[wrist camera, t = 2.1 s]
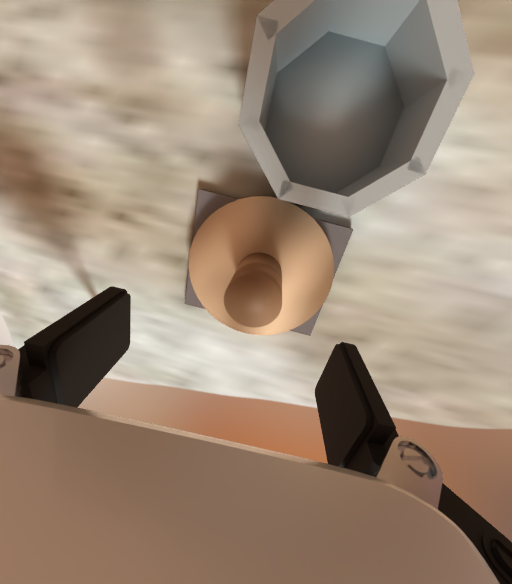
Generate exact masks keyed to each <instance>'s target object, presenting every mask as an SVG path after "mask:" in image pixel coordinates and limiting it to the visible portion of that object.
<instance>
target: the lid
mask: <svg viewBox="0 0 512 584" xmlns="http://www.w3.org/2000/svg"><path fill="white" fill-rule="evenodd" d="M189 274H190V279H191V283H192V286H193V289H194V291H195V293H196V295H197V297H198V299H199V300H200V302H201V303H202V305H203V306H204V307H205V309H206V310H207V311H208V312H209V313H210V314H211V315H212V316H213V317H214V318H216V319H217V320H218V321H220V322H221V323H223V324H225V325H226V326H228V327H230V328H232V329H235V330H237V331H241V332H244V333H248V334H255V335H272V334H278V333H282V332H286V331H289V330H291V329H294V328H296V327H298V326H300V325H302V324H303V323H304V322H306V321H307V320H309V319H310V318H311V317H312V316H313V315H314V314H315V313H316V312H317V311H318V310H319V309H320V308H321V306H322V305H323V303H324V302H325V300H326V298H327V296H328V294H329V292H330V289H331V285H332V281H333V276H334V260H333V254H332V250H331V246H330V244H329V241H328V239H327V237H326V235H325V233H324V232H323V230H322V228H321V227H320V226H319V225H318V224H317V222H316V221H315V220H314V219H313V218H312V217H311V216H310V215H309V214H308V213H307V212H305V211H304V210H303V209H301V208H300V207H298V206H296V205H294V204H292V203H290V202H288V201H285V200H281V199H278V198H274V197H269V196H254V197H247V198H242V199H239V200H236V201H233V202H231V203H228V204H226V205H225V206H223V207H221V208H219V209H218V210H216V211H215V212H214V213H213V214H211V215H210V216H209V217H208V218H207V219H206V220H205V222H204V223H203V224H202V225H201V227H200V228H199V230H198V231H197V233H196V235H195V237H194V240H193V242H192V245H191V249H190V254H189Z"/></svg>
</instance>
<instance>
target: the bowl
mask: <svg viewBox="0 0 512 584" xmlns="http://www.w3.org/2000/svg"><path fill="white" fill-rule="evenodd" d="M473 75H474V71H473V66H472V62H471V58H470V53H469V49H468V44H467V40H466V36H465V31H464V27H463V22H462V18H461V14H460V9H459V5H458V1H457V0H273V1H272V2H271V3H270V4H269V5H268V6H267V7H265V8H264V9H263V10H262V11H261V12H260V13H259V14H258V15H257V18H256V24H255V30H254V36H253V41H252V47H251V53H250V59H249V65H248V71H247V77H246V83H245V89H244V95H243V100H242V106H241V112H240V118H239V124H238V126H239V127H240V129H241V131H242V133H243V135H244V137H245V138H246V140H247V142H248V144H249V146H250V148H251V150H252V151H253V153H254V155H255V157H256V159H257V161H258V163H259V164H260V166H261V168H262V170H263V172H264V174H265V175H266V177H267V179H268V181H269V183H270V185H271V187H272V188H273V190H274V192H275V194H276V196H277V198H278V199H281V200H285V201H288V202H292V203H296V204H300V205H304V206H308V207H311V208H315V209H319V210H323V211H327V212H330V213H334V214H338V215H342V216H346V217H350V216H352V215H353V214H355V213H357V212H359V211H361V210H362V209H364V208H366V207H368V206H370V205H371V204H373V203H375V202H377V201H379V200H380V199H382V198H384V197H386V196H388V195H389V194H391V193H393V192H395V191H396V190H398V189H400V188H402V187H404V186H405V185H407V184H409V183H411V182H413V181H414V180H416V179H418V178H420V177H422V176H423V175H425V174H426V172H427V170H428V168H429V166H430V164H431V162H432V159H433V157H434V155H435V153H436V151H437V149H438V147H439V145H440V143H441V141H442V139H443V137H444V135H445V133H446V131H447V129H448V127H449V125H450V122H451V120H452V118H453V116H454V114H455V112H456V110H457V108H458V106H459V104H460V102H461V100H462V98H463V96H464V94H465V92H466V90H467V88H468V85H469V83H470V81H471V79H472V77H473Z"/></svg>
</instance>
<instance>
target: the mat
mask: <svg viewBox="0 0 512 584" xmlns="http://www.w3.org/2000/svg"><path fill="white" fill-rule="evenodd" d="M236 200H239V199H237V198H233V197H230V196H226V195H222V194H218V193H214V192H210V191H206V190H203V189H199V190H198V198H197V206H196V215H195V223H194V231H193V239H192V242H193V240H194V237H195V235H196V233H197V231H198V230H199V228H200V227H201V225H202V224H203V223H204V222H205V220H206V219H207V218H208V217H209V216H210V215H211V214H213V213H214V212H215V211H216V210H218V209H219V208H221V207H223V206H225V205H226V204H228V203H231V202H233V201H236ZM313 219H314V218H313ZM314 220H315V221H316V222H317V224H318V225H319V226H320V227H321V228H322V230H323V232H324V233H325V235H326V237H327V239H328V241H329V244H330V246H331V250H332V254H333V260H334V276H335V273H336V271H337V268H338V266H339V263H340V261H341V258H342V256H343V253H344V251H345V249H346V246H347V244H348V241H349V239H350V236H351V234H352V231H353V229H352V228H348V227H345V226H341V225H337V224H333V223H329V222H325V221H322V220H318V219H314ZM334 276H333V278H334ZM185 304H188V305H192V306H196V307H200V308H204V309H205V307H204V306H203V305H202V303H201V302H200V300H199V299H198V297H197V295H196V293H195V291H194V289H193V286H192V283H191V279H190V274H189V272H188V280H187V289H186V297H185ZM321 308H322V306H321ZM321 308H320V309H319V310H318V311H317V312H316V313H315V314H314V315H313V316H312V317H311V318H310V319H309V320H307V321H306V322H304V323H303V324H302V325H300V326H298V327H296V328H294V329H291V330H290V331H294V332H298V333H301V334H305V335H309V336H310V335H311V332H312V330H313V327H314V325H315V322H316V320H317V317H318V315H319V313H320V310H321Z"/></svg>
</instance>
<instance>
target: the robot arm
mask: <svg viewBox="0 0 512 584" xmlns="http://www.w3.org/2000/svg"><path fill="white" fill-rule="evenodd" d="M24 344H25V345H24V346H23V347H21V348H20V349H17V348H15V347H12V346H9V345H0V584H512V542H511V541H509V540H508V539H507V538H506V537H505V536H504V535H503V534H501V533H500V532H499V531H498V530H497V529H496V528H494V527H493V526H492V525H491V524H490V523H489V522H487V521H486V520H485V519H484V518H483V517H481V516H480V515H479V514H478V513H477V512H476V511H475V510H473V509H472V508H471V507H470V506H469V505H468V504H466V503H465V502H464V501H463V500H462V499H461V498H459V497H458V496H457V495H456V494H454V492H452V491H451V490H450V489H449V488H448V487H446V486H445V485H444V484H443V483H442V482H443V473H442V471H441V468H440V466H439V464H438V463H437V461H436V460H435V458H434V457H433V456H432V454H431V453H430V452H429V451H428V450H427V449H426V448H424V447H423V446H422V445H421V444H419V443H418V442H416V441H415V440H413V439H410V438H408V437H403V436H398V434H397V432H396V427H395V425H394V423H393V421H392V419H391V417H390V414H389V412H388V410H387V408H386V406H385V404H384V402H383V400H382V398H381V396H380V394H379V392H378V390H377V388H376V386H375V384H374V382H373V380H372V378H371V376H370V374H369V372H368V370H367V368H366V366H365V364H364V362H363V360H362V358H361V355H360V353H359V351H358V349H357V347H356V346H355V345H353V344H349V343H344V342H341V343H340V344H336V345H335V347H334V349H333V351H332V354H331V356H330V358H329V360H328V362H327V364H326V366H325V368H324V371H323V373H322V375H321V377H320V379H319V381H318V383H317V385H316V388H315V397H316V402H317V407H318V413H319V418H320V423H321V429H322V434H323V439H324V445H325V450H326V455H327V461H328V464H326V463H322V462H317V461H314V460H310V459H305V458H301V457H297V456H292V455H288V454H284V453H279V452H275V451H270V450H266V449H262V448H258V447H253V446H249V445H244V444H240V443H236V442H231V441H226V440H222V439H218V438H213V437H209V436H204V435H200V434H196V433H191V432H187V431H182V430H178V429H173V428H169V427H164V426H160V425H155V424H151V423H145V422H141V421H137V420H132V419H128V418H123V417H118V416H114V415H109V414H104V413H99V412H95V411H91V410H86V409H81V408H77V407H78V406H79V405H80V404H81V403H82V401H83V400H84V399H85V398H86V397H87V396H88V394H89V393H90V392H91V391H92V390H93V389H94V388H95V386H96V385H97V384H98V383H99V382H100V381H101V380H102V379H103V377H104V376H105V375H106V374H107V373H108V372H109V371H110V369H111V368H112V367H113V366H114V365H115V364H116V363H117V361H118V360H119V359H120V358H121V357H122V356H123V355H124V353H125V352H126V351H127V350H128V348H129V345H130V294H127V291H126V290H125V289H121V288H117V287H109V288H108V289H106V290H105V291H103V292H101V293H100V294H98V295H97V296H95V297H94V298H92V299H90V300H89V301H87V302H86V303H84V304H83V305H81V306H79V307H78V308H76V309H75V310H73V311H72V312H70V313H69V314H67V315H65V316H64V317H62V318H61V319H59V320H58V321H56V322H54V323H53V324H51V325H50V326H48V327H47V328H45V329H44V330H42V331H40V332H39V333H37V334H36V335H34V336H33V337H31V338H29V339H28V340H26V341H25V342H24Z"/></svg>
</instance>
